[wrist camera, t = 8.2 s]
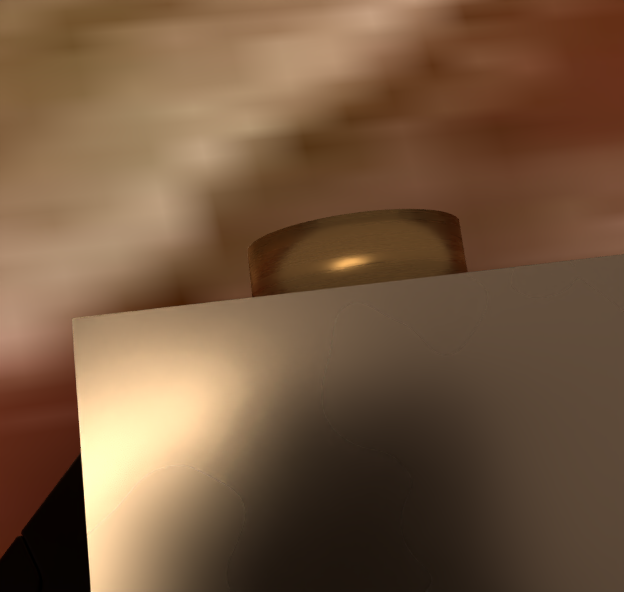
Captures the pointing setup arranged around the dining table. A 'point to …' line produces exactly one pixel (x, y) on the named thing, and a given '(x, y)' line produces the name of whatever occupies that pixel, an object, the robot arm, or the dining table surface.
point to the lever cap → (361, 422)
